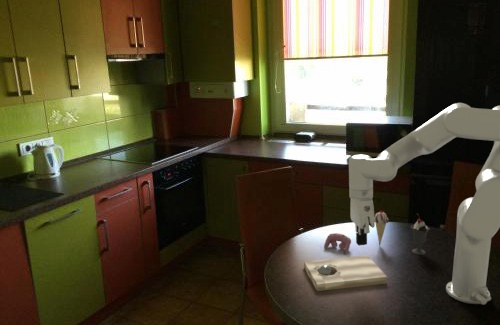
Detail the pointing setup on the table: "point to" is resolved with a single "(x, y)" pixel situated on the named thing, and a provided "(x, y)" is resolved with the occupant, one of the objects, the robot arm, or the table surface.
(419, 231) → the sundae
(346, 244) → the video game controller
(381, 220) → the ice cream cone
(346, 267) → the hole board
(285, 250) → the table surface
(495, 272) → the table surface
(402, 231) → the table surface
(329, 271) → the steel ball
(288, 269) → the table surface
